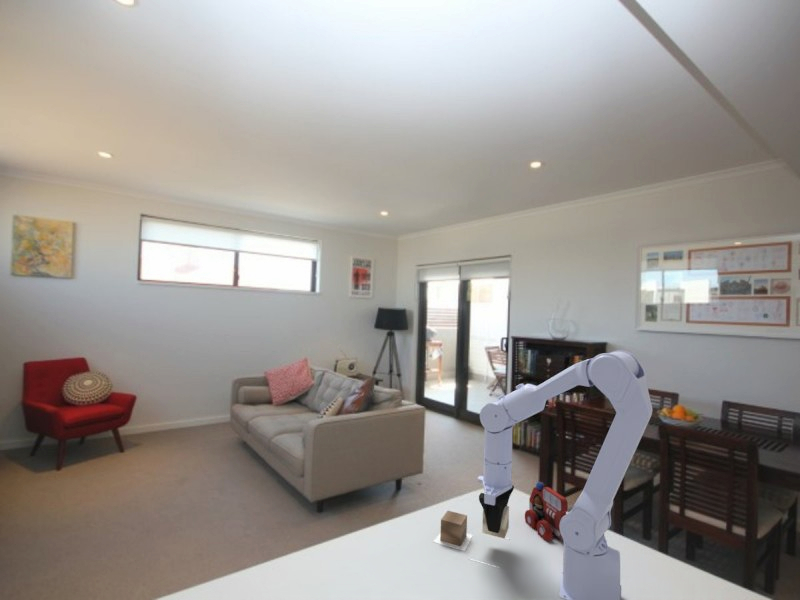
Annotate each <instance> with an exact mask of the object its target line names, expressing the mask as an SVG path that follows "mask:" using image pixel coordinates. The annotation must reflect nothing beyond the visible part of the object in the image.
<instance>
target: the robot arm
mask: <svg viewBox="0 0 800 600" xmlns="http://www.w3.org/2000/svg"><path fill="white" fill-rule="evenodd" d="M647 384H648V383H647V372H646V370H645V369H644V367H643V365H642V364H641V363H640V361H639V360H638V358H637V357H636V356H635V355H634V354H633V353H631V352H629V351H627V350H622V349H621V350H619V349H618V350H614V351H610V352H608V353H607V352H604V353H599V354H597V355H596V356H594V357H592V358H588V359H585V360H582V361H580V362H579V361H578V362H577V363H574V364H573V365H571V366H568V367H567V368H566V369H564V370H562V371H560V372H559V373H556V374H555V375H553V376H552V377H550V378H549V379H547V380H545V381H544V382H542V383H540V384H538V385H535V384H532V383H526V384H524V383H519V384H518V385H516V386H515V390H514V391H511V392H510V393H508V394H506V395H504V394H502V395H500V396H498V397H497V399H498V400H497V401H493V402H488V403H486V404H485V405H484V406H483V407H482V408H481V409H480V412H479V420H480V423H481V426H482V427H483V428H484V430H483V431H484V435H483V438H484V439H483V440H484V441H483V442H484V443H483V475H479V476H478V477H477V483H481V484H482V487H483V491H484V492H480V494H479V495H478V501H479V504H480V505H481V507H482V511H483V510H484V513H485V517H486V523H487V528H488V531H491V532H495V533H498V532H499V530H500V526H501V520H502V515H503V511H504V508H505V507H506V506H508V503H509V500H510V497H511V495H512V493H513V491H514V489H515V486H514V485H513V481H512V473H513V472H512V469H513V468H512V467H513V432H514V431H513V430H514V429H513V428H514V426H516V424H518V423H521V421H524V420H526V419H528V418H530V417H532V416H534V415H536V414H538V413H540V412H542V411H544V409H545V406H546V402H547V401H548V400H550V399H552V398H554V397H556V396H558V395H560V394H563V393H565V392H566V391H569V390H571V389H574V388H575V387H577V386H582V387H583V386H584V387H589V388H591V387H593V386H595V387H596V388H597V389H598V390H599V391H600V392H601V393H602V394H603V395H604V396H606V397H607V398H608V400H609V402H610V403H611V405H612V407H613V410H615V412H616V413H615V416H614V418H613V420H612V423H611V425H610V427H609V430H608V432H607V434H606V436H605V439H604V440H603V444H602V445H601V448H600V450H599V452H598V454H597V457H596V459H595V461H594V464H593V466H592V469H591V471H590V473H589V476H588V478H587V480H586V482H585V485H584V487H583V490H582V491H581V493H580V494H579V496H578V497H577V499H576V501H575V502H574V504H573V506H572V508H571V510H569V511H568V513H567V512H566V515H564V516H563V517H562V519H561V521H560V524H559V529H560V533H561V536H562V538H561V539H563V554H562V556H563V557H562V558H563V559H562V561H563V562H562V571H561V574H560V583H559V590H558V591H559V593H558V598H560V599H562V600H621V598H622V584H621V553H620V551H619V550H617V549H615V548H612V547H610V546H608V545H609V544H608V543H607V542H608V541H607V539H606V536H605V533H606V532H607V531H608V530H609V529H610V527H611V525H612V516H611V510H612V508H613V506H614V499H615V497H616V495H617V492H618V491H619V489H620V485H621V484H622V481H623V479H624V477H625V475H626V473H627V470H628V468H629V466H630V465H631V461H632V459H633V458H634V456H635V453H636V451H637V448H638V446H639V444H640V442H641V439H642V437H643V435H644V434H645V433H644V432H645V431H646V428H647V426H648V424H649V422H650V419H651V417H652V414H653V411H654V410H653V405H652V401H651V397H650V392H649V388H648V385H647Z"/></svg>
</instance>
